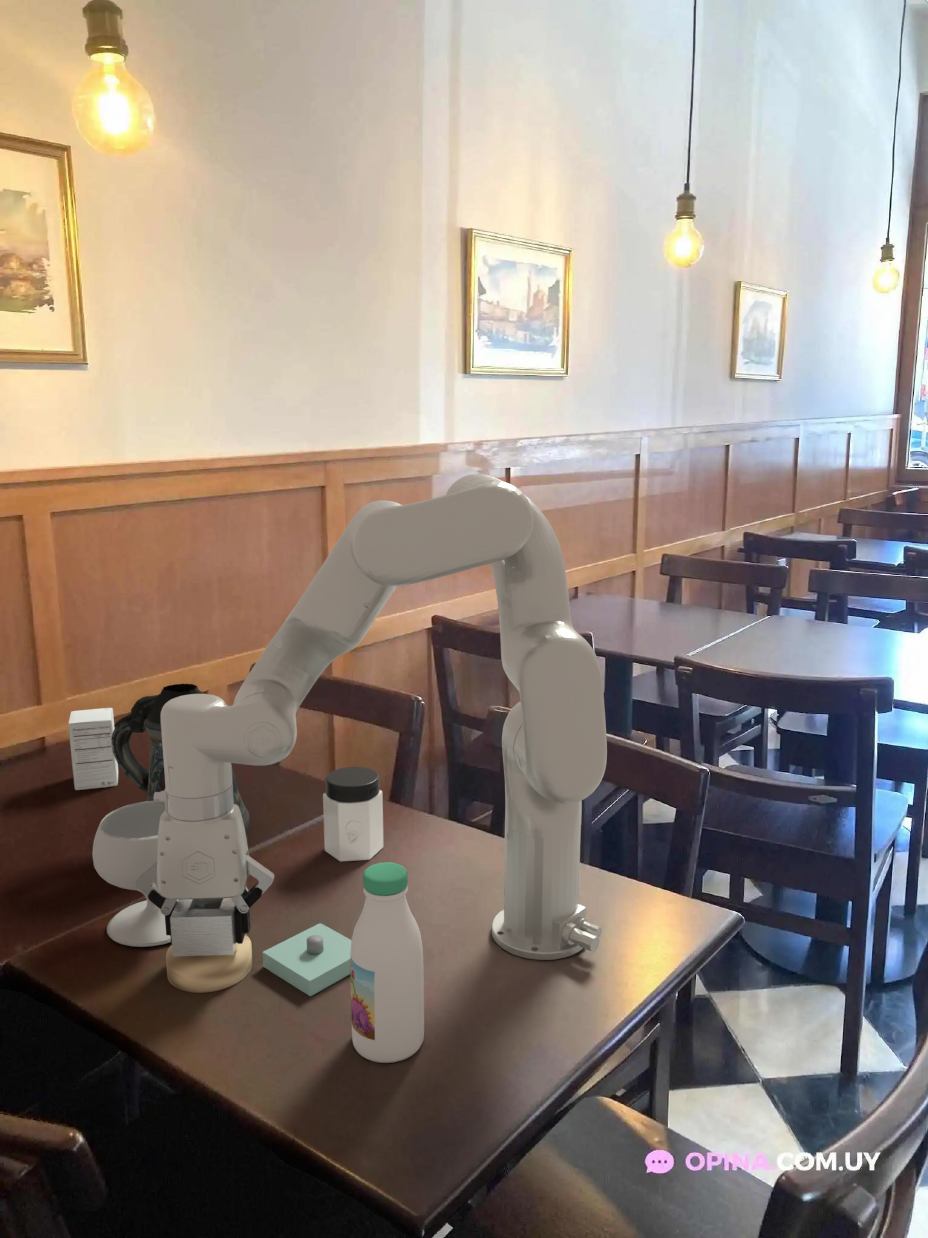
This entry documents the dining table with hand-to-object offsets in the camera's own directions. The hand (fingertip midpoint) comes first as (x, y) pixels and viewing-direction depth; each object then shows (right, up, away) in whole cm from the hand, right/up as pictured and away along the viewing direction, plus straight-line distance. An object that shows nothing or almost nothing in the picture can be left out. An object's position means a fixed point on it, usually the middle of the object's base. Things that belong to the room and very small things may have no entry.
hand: (209, 937), depth 117 cm
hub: (0, -4, +1) cm, 4 cm away
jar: (+14, +3, +32) cm, 35 cm away
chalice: (-10, -2, +11) cm, 15 cm away
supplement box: (-36, +9, +59) cm, 69 cm away
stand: (+13, -4, +2) cm, 13 cm away
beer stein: (-13, +3, +34) cm, 36 cm away
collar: (0, 0, 0) cm, 0 cm away
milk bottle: (+22, -7, -12) cm, 27 cm away
